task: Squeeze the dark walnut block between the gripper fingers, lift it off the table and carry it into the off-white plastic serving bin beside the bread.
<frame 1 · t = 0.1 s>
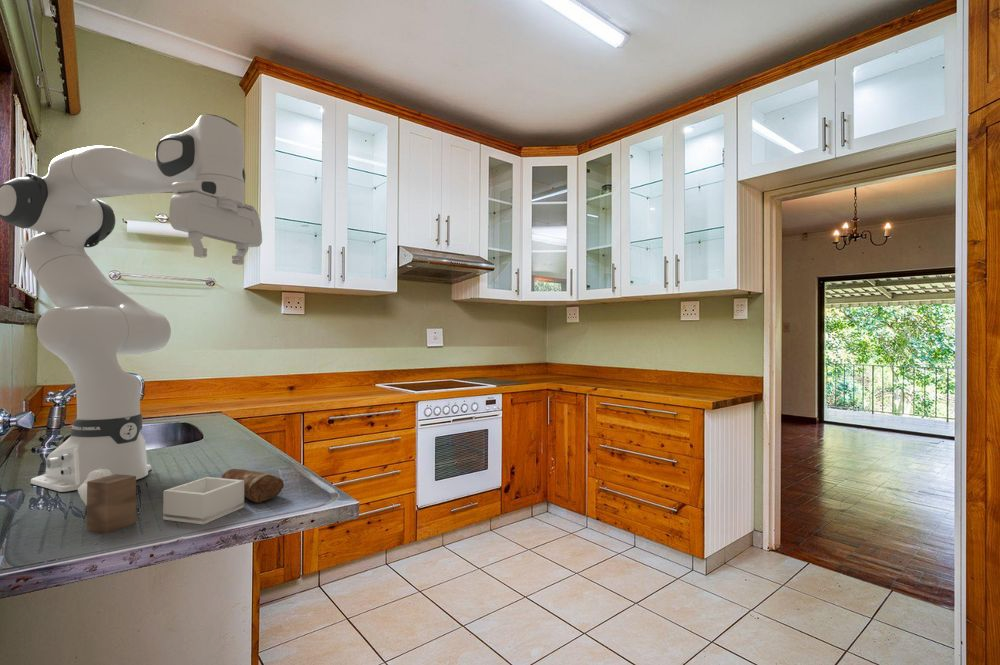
hand: (220, 260, 100), 48 cm above the counter, fingers open, 8 cm apart
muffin: (99, 506, 91), on the counter
bread: (245, 496, 98), on the counter
serving bin: (205, 513, 87), on the counter
walnut block: (111, 526, 81), on the counter
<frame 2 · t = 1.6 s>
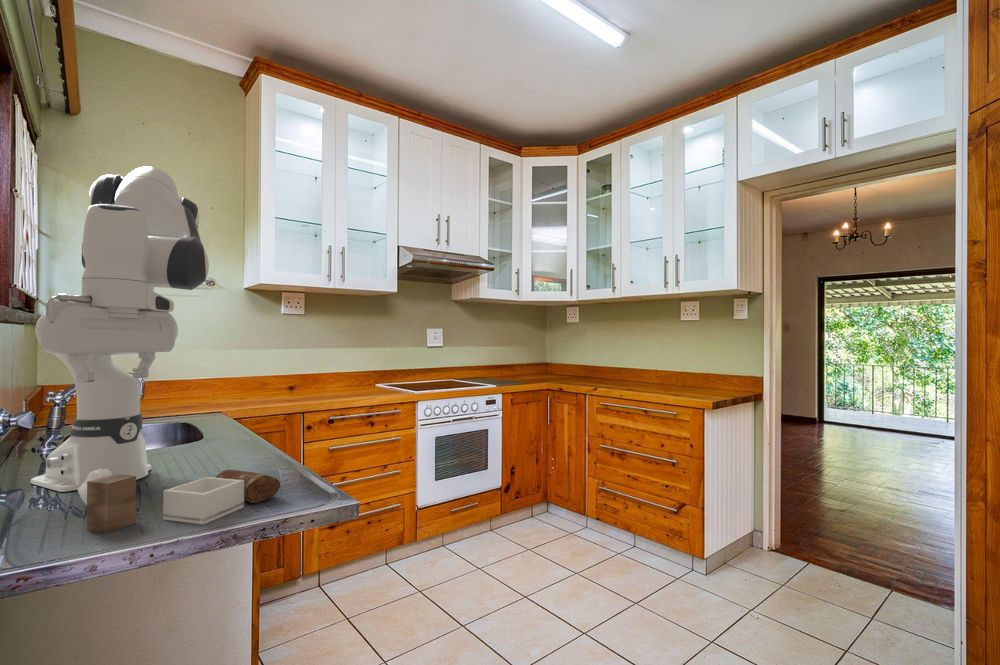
hand: (114, 380, 81), 25 cm above the counter, fingers open, 8 cm apart
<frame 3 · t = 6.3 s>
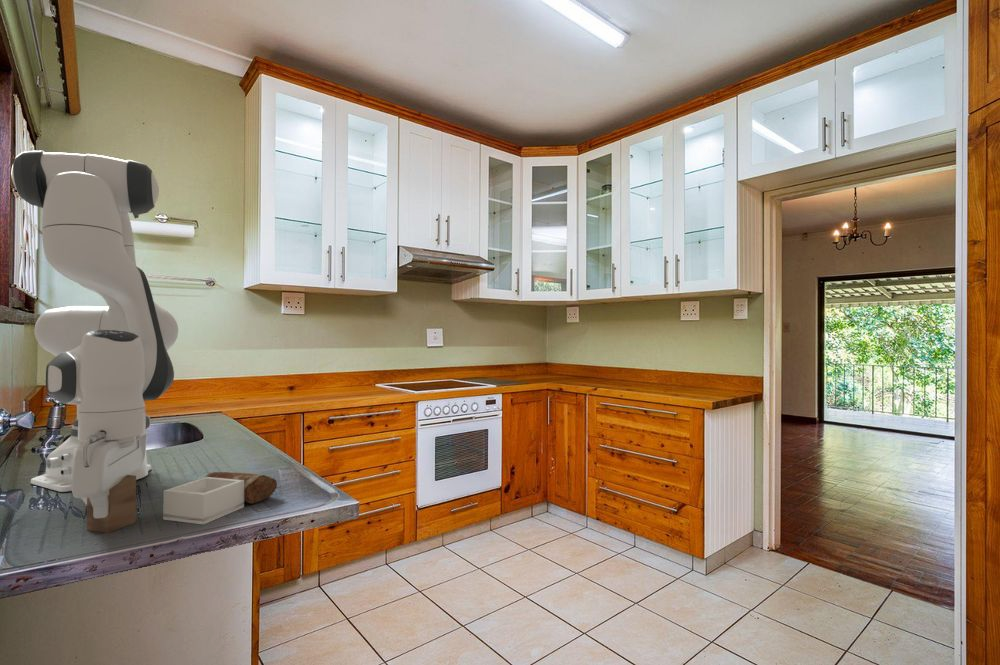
hand: (111, 508, 81), 3 cm above the counter, fingers closed on walnut block, 6 cm apart
bread: (232, 498, 96), on the counter
walnut block: (111, 526, 81), on the counter, touching gripper
everything else where it was.
when the fingers open (6 cm above the counter, at t = 14.1 s): walnut block drops 3 cm, resting on serving bin.
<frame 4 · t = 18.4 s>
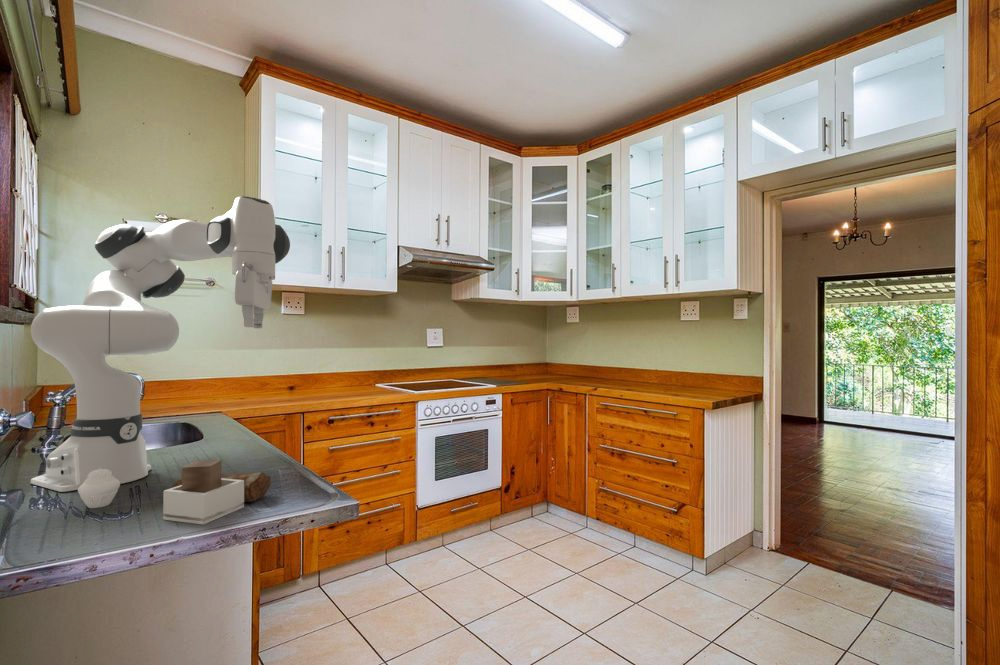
hand: (253, 327, 110), 34 cm above the counter, fingers open, 8 cm apart
bread: (217, 502, 94), on the counter
walnut block: (202, 508, 86), point 1 cm above the counter, touching serving bin
everything else where it was.
at the end: walnut block 0.5 cm off-centre on the serving bin, point 1.0 cm above the serving bin's base; the gripper is holding nothing; walnut block tilted 0° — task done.
